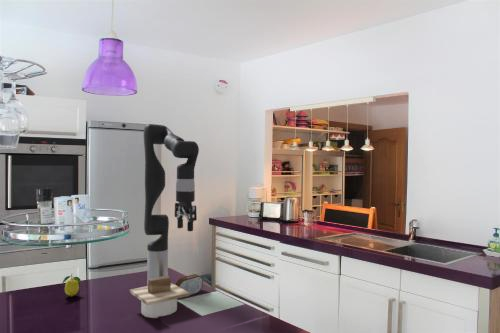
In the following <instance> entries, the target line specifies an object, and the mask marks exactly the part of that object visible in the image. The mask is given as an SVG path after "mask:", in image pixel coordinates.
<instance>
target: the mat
mask: <svg viewBox="0 0 500 333" xmlns="http://www.w3.org/2000/svg"><path fill="white" fill-rule="evenodd" d="M177 303H180V304H182V305H183V306H184V307H186V308H188V309H190V310H192V311H193V312H195V313H196V314H198V315H200V316H202V317H203V316H206V315H211V314H213V313H217V312H222V311H226V310H228V309H229V310H230V309H232V308H236V307H240V306H244V305H245V303H243V302H241V301H239V300H236V299H235V298H233V297H231V296H229V295H226V294H225V293H222V292H221V291H218V290H216V291H212V292H207V293H203V294H199V295H194V296H189V297H184V298H180V299H177Z"/></svg>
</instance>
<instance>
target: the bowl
mask: <svg viewBox="0 0 500 333" xmlns="http://www.w3.org/2000/svg"><path fill="white" fill-rule="evenodd" d="M177 300H178V299H174V300H169V301H165V302H160V303H156V304H152V305H146V304H145V303H143V302H142V301H141V300H140V302H141V303H140V305H141V306H140V307H141V309H140V312H141V314H140V315H142V316H144V317H145V318H151V319H158V318H159V317H164V316H169V315H172V314H173V313H175V312H177V309H178V301H177Z"/></svg>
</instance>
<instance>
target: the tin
mask: <svg viewBox="0 0 500 333" xmlns="http://www.w3.org/2000/svg"><path fill="white" fill-rule="evenodd" d="M203 279H204V278H203V277H202V276H201V275H198V274H196V273H193V274H191V275H187V276H182V277H180V278H179V279H177V280H176V282H175V283H174V284H175V285H176V286H178V287H180V288H182V289H184V290H186V291H187V292H189V293H190V296H191V295H194V294H196V293H199V292H201V291H202V289H203V286H204V285H203V284H204V280H203Z"/></svg>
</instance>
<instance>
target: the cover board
mask: <svg viewBox="0 0 500 333" xmlns="http://www.w3.org/2000/svg"><path fill="white" fill-rule="evenodd" d="M171 281H172V278H171V276H169V275H168V276H162V277H157V278H152V279H148V286H147V285H145V286H141V287H137V288H136V287H135V288H131V289H129V293H130V294H131V295H132V296H134V297H135V298H136V299H138V300H140V302H141V301H142V302H143V303H145V304H146V305H152V304H156V303H160V302H165V301H169V300H174V299H177V300H179V299H183V298H188V297H191V295H190V293H189V292H187V291H186V290H184V289H182V288H180V287H178V286H176V285H175V284H176V283H172V282H171Z"/></svg>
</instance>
